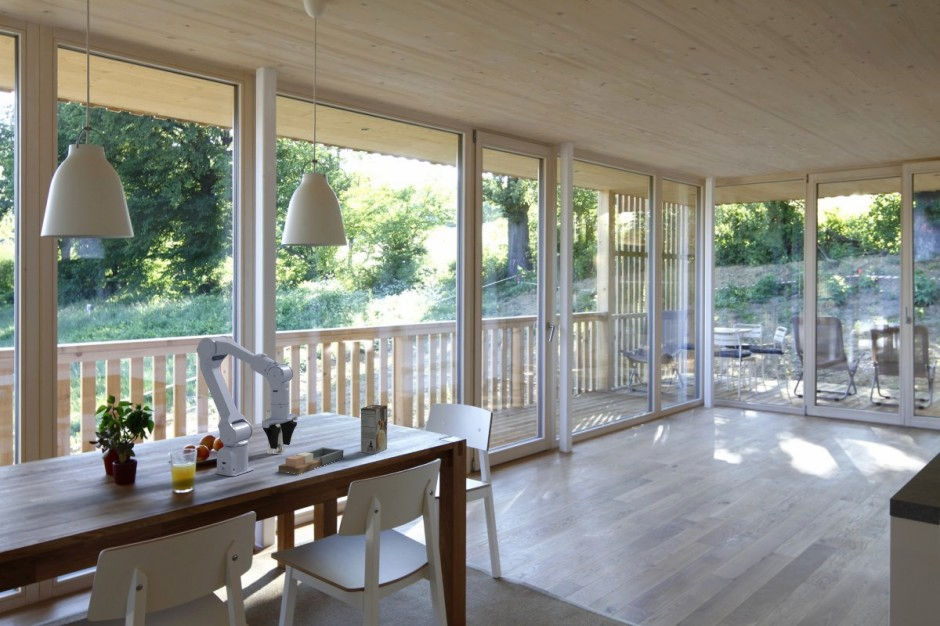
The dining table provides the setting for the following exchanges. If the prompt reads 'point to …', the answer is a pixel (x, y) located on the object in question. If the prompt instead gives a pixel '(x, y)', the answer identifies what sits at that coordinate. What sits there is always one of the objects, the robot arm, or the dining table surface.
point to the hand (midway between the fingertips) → (280, 446)
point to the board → (301, 467)
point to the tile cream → (306, 457)
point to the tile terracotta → (294, 461)
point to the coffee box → (373, 429)
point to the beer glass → (280, 441)
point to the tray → (327, 455)
